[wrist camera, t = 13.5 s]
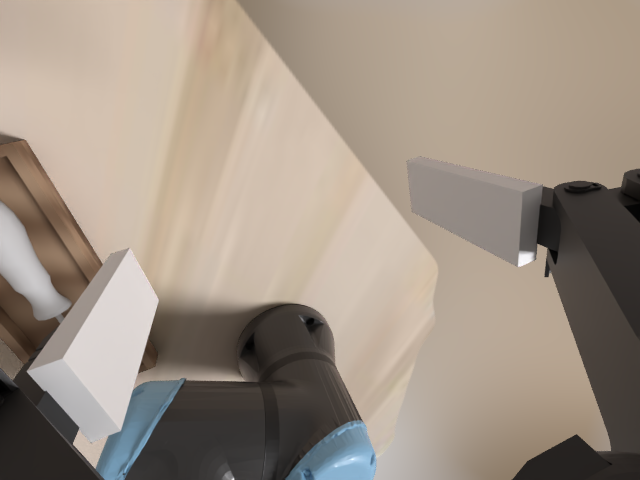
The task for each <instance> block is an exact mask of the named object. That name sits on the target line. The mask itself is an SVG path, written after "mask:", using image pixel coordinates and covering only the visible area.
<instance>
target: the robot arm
mask: <svg viewBox="0 0 640 480" xmlns="http://www.w3.org/2000/svg"><path fill="white" fill-rule="evenodd" d="M407 170H408V180H409V189H410V199H411V209H412V212H413V213H415V214H417V215H419V216H421V217H423V218H425V219H427V220H428V221H430V222H432V223H434V224H436V225H438V226H440V227H442V228H444V229H446V230H448V231H450V232H451V233H453V234H455V235H457V236H459V237H461V238H463V239H465V240H467V241H469V242H471V243H472V244H474V245H476V246H478V247H480V248H482V249H484V250H486V251H488V252H490V253H492V254H494V255H495V256H497V257H500V258H501V259H503V260H505V261H507V262H509V263H511V264H513V265H515V266H517V267H520V266H522V265H525V264H527V263H529V262H532V261H534V260H536V254H537V244H540V245H542V246H544V247H547V248H548V249H547V258H546V267H545V277H548V276H549V273H552V275H553V278H554V281H555V284H556V287H557V290H558V293H559V295H560V298H561V301H562V304H563V307H564V310H565V313H566V316H567V318H568V321H569V324H570V327H571V330H572V332H573V335H574V338H575V341H576V344H577V347H578V350H579V352H580V355H581V358H582V361H583V364H584V367H585V369H586V372H587V375H588V378H589V381H590V384H591V387H592V390H593V392H594V395H595V398H596V401H597V404H598V406H599V409H600V412H601V415H602V418H603V421H604V424H605V426H606V429H607V432H608V436H609V439H610V444H611V451H597V452H596V451H594V450H593V449H592V448H591V447H590V446H589V445H588V444H587V443H586V442H585V441H583V440H582V439H581V438H580V437H579V436H578V435H574V436H573V437H571V438H569V439H567V440H566V441H563V442H562V443H560V444H558V445H556V446H554V447H552V448H551V449H549V450H547V451H545V452H543V453H542V454H540V455H538V456H536V457H534V458H532V459H531V460H529V461H527V462H526V464H525V465H524V466H523V467H522V469H521V470H520V471H519V472H518V473H517V475H516V476H515V477H514V478H513V479H512V480H640V169H635V170H630V171H628V172H626V173H624V177H623V181H622V186H621V187H619V188H614V189H607V188H606V187H605V186H603V185H601V184H599V183H593V182H586V181H574V182H568V183H563V184H559V185H557V186H556V187H554V189H552V188H547V187H543V185H541V184H537V183H533V182H529V181H525V180H520V179H516V178H511V177H507V176H503V175H498V174H494V173H490V172H486V171H481V170H477V169H473V168H468V167H464V166H460V165H455V164H451V163H447V162H442V161H438V160H433V159H429V158H425V157H421V156H420V157H417V158H413V159H411V160H407ZM158 302H159V299H158V297H157V296H156V294H155V292H154V290H153V288H152V287H151V285H150V283H149V281H148V279H147V278H146V276H145V274H144V272H143V270H142V269H141V267H140V265H139V263H138V262H137V260H136V258H135V256H134V254H133V253H132V251H131V249H130V248H128V249H125V250H122V251H119V252H115V253H112V254H110V256H109V257H108V258H107V260H106V261H105V263H104V264H103V265H102V267H101V268H100V270H99V271H98V272H97V274H96V275H95V277H94V278H93V279H92V281H91V282H90V284H89V285H88V286H87V288H86V289H85V291H84V292H83V293H82V295H81V296H80V298H79V299H78V300H77V302H76V303H75V305H74V306H73V307H72V309H71V310H70V312H69V313H68V314H67V316H66V317H65V319H64V320H63V321H62V323H61V324H60V325H59V326H58V327H56V328H55V329H54V330H53V331H52V332H51V333H50V334H48V335H47V336H46V337H45V338H44V339H43V340H42V342H41V343H40V344H39V346H38V347H37V349H36V352H34V353H33V354H32V355H31V357H30V358H29V359H28V362H26V363H25V365H24V366H23V367H22V369H21V370H20V371H19V373H18V374H17V375H16V377H15V378H14V379H13V381H12V380H11V379H10V378H9V377H8V376H7V375H6V374H5V373H4V372H3V370H2V369H1V368H0V480H373V478H374V475H375V471H376V455H375V452H374V449H373V447H372V444H371V441H370V439H369V436H368V434H367V428H366V425H365V424H364V422H363V421H362V419H361V417H360V415H359V413H358V411H357V409H356V407H355V405H354V403H353V401H352V399H351V397H350V395H349V393H348V390H347V388H346V386H345V384H344V382H343V380H342V378H341V376H340V374H339V372H338V370H337V368H336V366H335V349H334V338H333V334H332V331H331V329H330V327H329V325H328V323H327V321H326V320H325V318H324V317H323V316H322V315H321V314H320V313H319V312H317V311H316V310H314V309H312V308H310V307H307V306H302V305H283V306H279V307H275V308H272V309H270V310H268V311H265V312H264V313H262V314H260V315H259V316H257V317H256V318H255V319H254V320H252V321H251V322H250V323H249V324H248V325H247V327H246V328H245V329H244V331H243V332H242V334H241V336H240V339H239V341H238V346H237V358H238V366H239V370H240V372H241V375H242V376H243V378H244V380H245V381H246V382H238V381H191V380H186V378H181V379H180V380H174V381H150V382H145V383H143V384H141V385H139V386H137V387H136V388H135V389H134V390H133V388H134V384H135V381H136V377H137V374H138V370H139V367H140V364H141V360H142V357H143V353H144V350H145V346H146V343H147V340H148V336H149V333H150V329H151V326H152V322H153V319H154V315H155V312H156V309H157V305H158ZM78 430H80V431H81V432H82V434H83V435H84V436H85V437H86V438H87V439H88V440H89V441H90V442H91V443H92V442H95V441H97V440H100V439H102V438H105V437H107V436H108V439H107V441H106V443H105V446H104V448H103V451H102V453H101V456H100V458H99V461H98V463H97V466H96V469H95V468H94V467H93V466H92V465H91V464H90V463H89V462H88V461H87V459H86V458H85V457H84V456H83V455H82V454H81V453H80V452H79V451H78V450H77V448H76V447H75V446H74V445H73V442H74V439H75V437H76V435H77V432H78Z"/></svg>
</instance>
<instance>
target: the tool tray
mask: <svg viewBox="0 0 640 480" xmlns="http://www.w3.org/2000/svg"><path fill="white" fill-rule="evenodd" d="M0 201H2V202H3V203H4V204H5V205H7V206H8V207H9V208H10V209H11V210H12V211H13V212H14V213H15V214H16V216H17V217H18V218H19V220H20V221H21V223H22V224H23V225H24V227H25V229H26V232H27V235H28V237H29V240H30V242H31V244H32V246H33V249H34V251H35V253H36V255H37V257H38V259H39V260H40V262H41V264H42V265H43V267H44V268H45V269H46V271H47V272H48V274H49V275H50V278H51V283H52V285H53V287H54V288H55V289H56V291H57V292H58V293H59V294H61V295H62V296H64V297H66V298H68V299H69V300H70V301H71V303H72V305H71V306H70V307H69V308H68V309H67V310H66V311H64V312H63V313H61V314H62V316H63V317H64V318H65V317H66V316H67V314H68V313H69V312H70V310H71V309H72V307H73V306H74V305H75V303H76V302H77V300H78V299H79V298H80V296H81V295H82V293H83V292H84V291H85V289H86V288H87V286H88V285H89V284H90V282H91V281H92V279H93V278H94V277H95V275H96V274H97V272H98V271H99V270H100V268H101V267H102V265H103V264H102V263H101V261H100V259H99V258H98V256H97V254H96V253H95V251H94V250H93V248H92V246H91V245H90V243H89V241H88V240H87V238H86V237H85V235H84V233H83V232H82V230H81V229H80V227H79V225H78V224H77V222H76V220H75V219H74V217H73V216H72V214H71V212H70V211H69V209H68V208H67V206H66V204H65V203H64V201H63V199H62V198H61V196H60V195H59V193H58V191H57V190H56V188H55V187H54V185H53V183H52V182H51V180H50V178H49V177H48V175H47V174H46V172H45V170H44V169H43V167H42V166H41V164H40V162H39V161H38V159H37V157H36V156H35V154H34V153H33V151H32V149H31V148H30V146H29V145H28V143H27V141H26V140H23V141H17V142H11V143H7V144H3V145H0ZM59 325H60V323H59V321H58V320H57V319H56V317H53V318H51V319H47V320H37V319H36V318H35V317H34V315H33V308H32V306H31V303H30V302H29V301H28V300H27V299H26V297H24V296H23V295H22V294H20V293H18V292H16V291H15V290H14V289H13V288H12V286H11V285H10V284H9V283H8V282H7V280H6V279H5V278H4V277H3V276H2V275H1V274H0V338H1V339H2V340H3V341H4V342H5V343H6V344H7V346H8V347H9V348H10V349H11V350H12V351H13V352H14V353H15V355H16V356H17V357H18V358H19V359H20V360H21V361H22V362H23V363H24V365H25V363H26V362H28V359H29V358H30V357H31V355H32V354H33V353H34V352H36V349H37V347H38V346H39V344H40V343H41V342H42V340H43V339H44V338H45V337H46V336H47V335H48V334H50V333H51V332H52V331H53V330H54V329H55V328H56V327H58V326H59ZM157 357H158V353H157V351H156V350H155V348H154V347H153V345H152V343H151V342H150V340H149V338H148V340H147V343H146V346H145V350H144V353H143V357H142V360H141V364H140V367H139V370H138V373H140V372H143V371H146V370H148V369H151V368H153V367H155V366H156V361H157Z"/></svg>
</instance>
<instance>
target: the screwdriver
mask: <svg viewBox="0 0 640 480" xmlns="http://www.w3.org/2000/svg"><path fill="white" fill-rule="evenodd" d="M0 274H1V275H2V276H3V277H4V278H5V279H6V280H7V282H8V283H9V284H10V285H11V286H12V288H13V289H14V290H15V291H16V292H18V293H20V294H22V295H23V296H24V297H26V299H27V300H28V301H29V302H30V303H31V306H32V308H33V315H34V317H35V318H36V319H37V320H47V319H51V318H53V317H56V319H57V320H58V321H59V323H60V324H61V323H62V321H63V320H64V319H65V318H64V317H63V316H62V314H61V313H63V312H64V311H66V310H67V309H68V308H69V307H70V306H71V305H72V303H71V301H70V300H69V299H68V298H66V297H64V296H62V295H61V294H59V293H58V292H57V291H56V289H55V288H54V287H53V285H52V283H51V278H50V275H49V274H48V272H47V271H46V269H45V268H44V267H43V265H42V264H41V262H40V260H39V259H38V257H37V255H36V253H35V251H34V249H33V246H32V244H31V242H30V240H29V237H28V235H27V232H26V229H25V227H24V225H23V224H22V223H21V221H20V220H19V218H18V217H17V216H16V214H15V213H14V212H13V211H12V210H11V209H10V208H9V207H8V206H7V205H5V204H4V203H3V202H2V201H0Z"/></svg>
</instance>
